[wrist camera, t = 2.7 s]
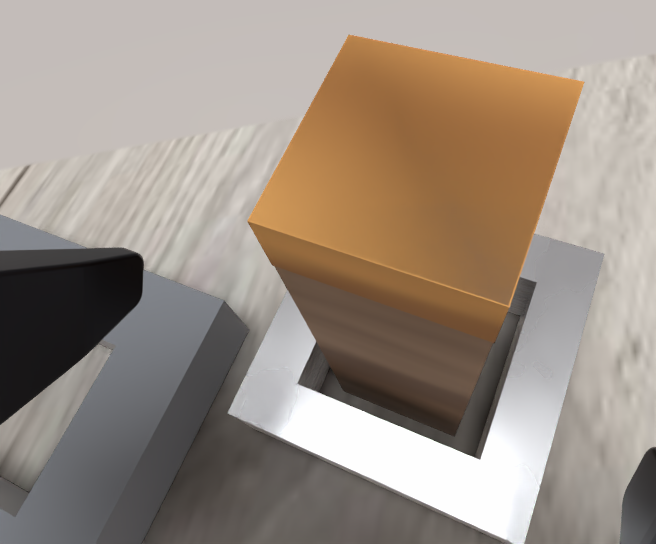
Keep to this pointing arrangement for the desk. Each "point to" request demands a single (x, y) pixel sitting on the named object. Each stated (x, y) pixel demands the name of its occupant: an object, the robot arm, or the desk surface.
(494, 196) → the plug
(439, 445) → the frame
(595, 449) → the desk surface
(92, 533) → the socket
